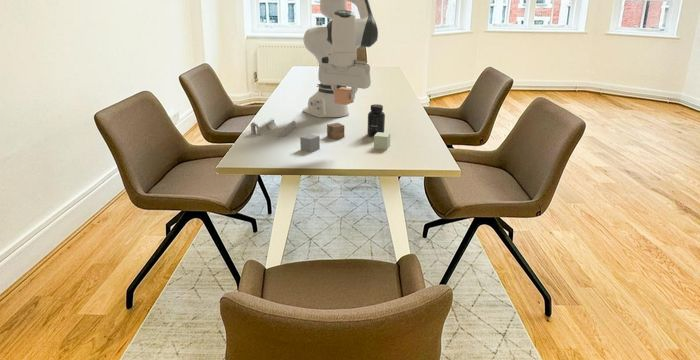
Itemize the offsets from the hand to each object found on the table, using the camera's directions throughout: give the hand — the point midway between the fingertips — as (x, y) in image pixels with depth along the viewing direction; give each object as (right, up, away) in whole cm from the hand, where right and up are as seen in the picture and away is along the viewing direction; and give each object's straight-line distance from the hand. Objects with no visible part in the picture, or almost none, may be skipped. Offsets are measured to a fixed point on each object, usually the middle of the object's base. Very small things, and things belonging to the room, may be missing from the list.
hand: (344, 97), depth 192 cm
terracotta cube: (0, -2, +1) cm, 2 cm away
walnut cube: (-4, -13, +20) cm, 24 cm away
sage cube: (+14, -17, +7) cm, 24 cm away
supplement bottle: (+13, -12, +23) cm, 28 cm away
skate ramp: (-29, -10, +28) cm, 41 cm away
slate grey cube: (-13, -18, +5) cm, 23 cm away
